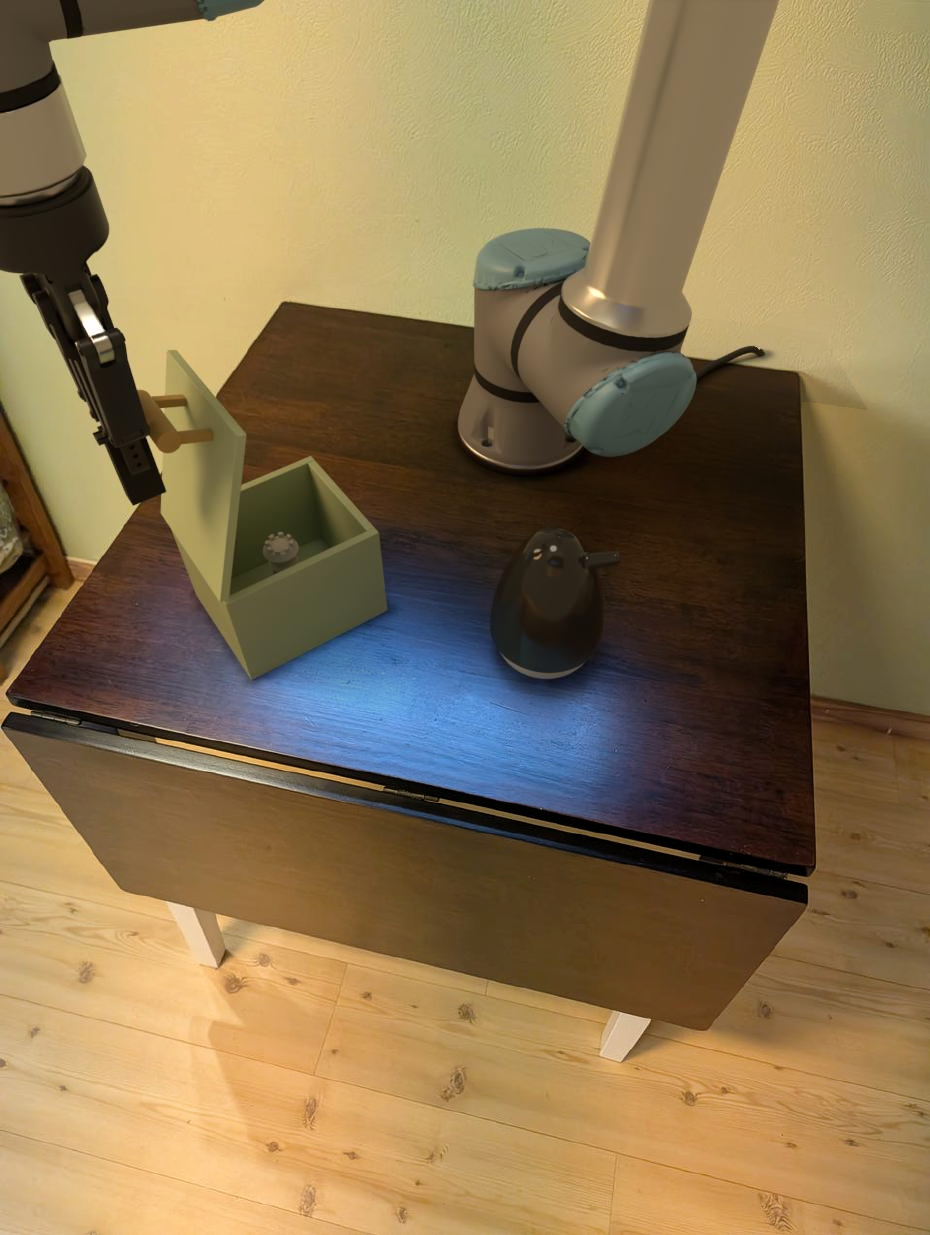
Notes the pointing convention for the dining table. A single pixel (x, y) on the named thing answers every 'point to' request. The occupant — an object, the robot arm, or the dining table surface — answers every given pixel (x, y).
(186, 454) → the lid
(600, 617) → the pump dispenser
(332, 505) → the chest
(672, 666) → the dining table surface
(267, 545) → the rook chess piece
